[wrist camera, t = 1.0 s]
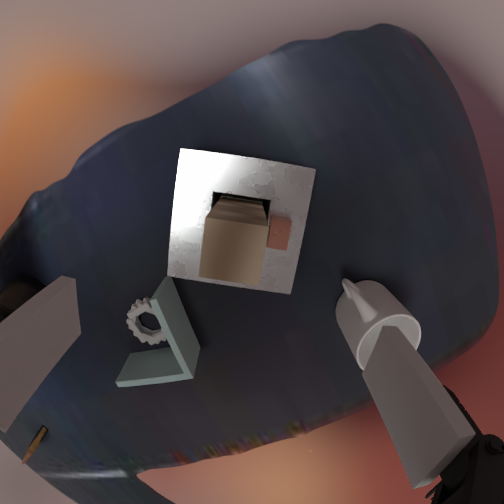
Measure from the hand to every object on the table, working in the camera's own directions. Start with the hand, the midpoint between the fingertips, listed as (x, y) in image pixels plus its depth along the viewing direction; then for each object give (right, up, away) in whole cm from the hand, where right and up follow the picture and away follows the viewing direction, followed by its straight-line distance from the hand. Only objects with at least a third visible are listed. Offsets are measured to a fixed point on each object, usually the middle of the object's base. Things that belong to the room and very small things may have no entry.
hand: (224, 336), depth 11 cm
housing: (0, +8, +25) cm, 27 cm away
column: (0, +8, +25) cm, 27 cm away
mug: (+16, -3, +29) cm, 33 cm away
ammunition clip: (-56, -46, +41) cm, 83 cm away
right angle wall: (-14, -7, +30) cm, 34 cm away
